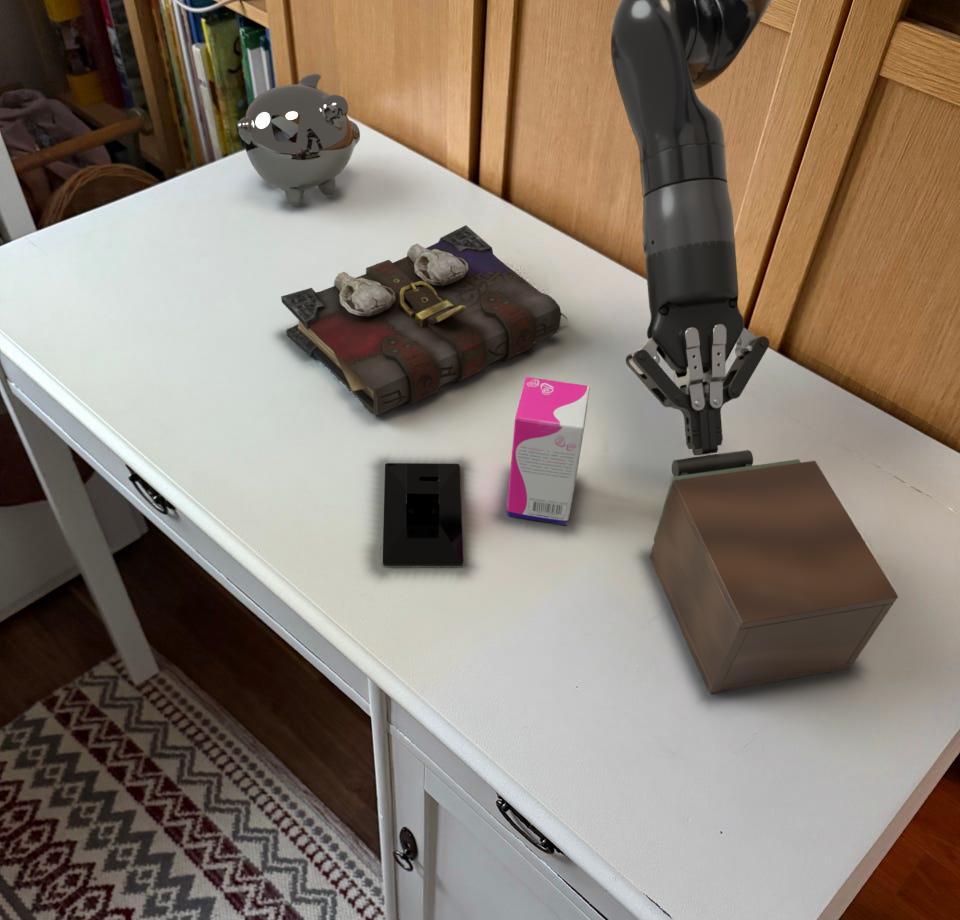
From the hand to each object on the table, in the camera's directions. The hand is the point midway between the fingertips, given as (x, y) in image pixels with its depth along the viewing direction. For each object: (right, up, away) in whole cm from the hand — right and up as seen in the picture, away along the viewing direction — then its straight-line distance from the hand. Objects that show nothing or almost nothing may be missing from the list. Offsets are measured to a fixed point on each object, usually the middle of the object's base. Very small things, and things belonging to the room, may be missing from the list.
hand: (705, 453), depth 83 cm
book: (-26, +16, +17) cm, 35 cm away
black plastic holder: (-25, -5, +2) cm, 26 cm away
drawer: (+2, -10, -1) cm, 11 cm away
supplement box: (-14, -3, +4) cm, 15 cm away
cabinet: (+3, -14, -3) cm, 15 cm away
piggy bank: (-42, +39, +32) cm, 66 cm away
